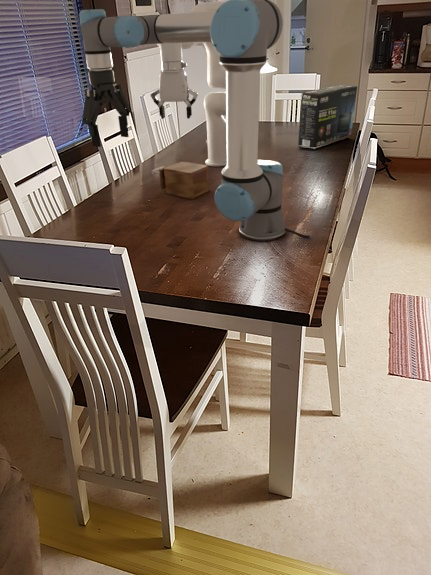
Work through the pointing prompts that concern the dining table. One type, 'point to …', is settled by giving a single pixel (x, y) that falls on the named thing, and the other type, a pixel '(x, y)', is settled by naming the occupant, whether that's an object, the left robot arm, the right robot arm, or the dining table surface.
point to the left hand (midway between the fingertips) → (175, 118)
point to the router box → (326, 115)
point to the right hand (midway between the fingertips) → (111, 141)
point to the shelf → (161, 175)
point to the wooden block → (186, 179)
